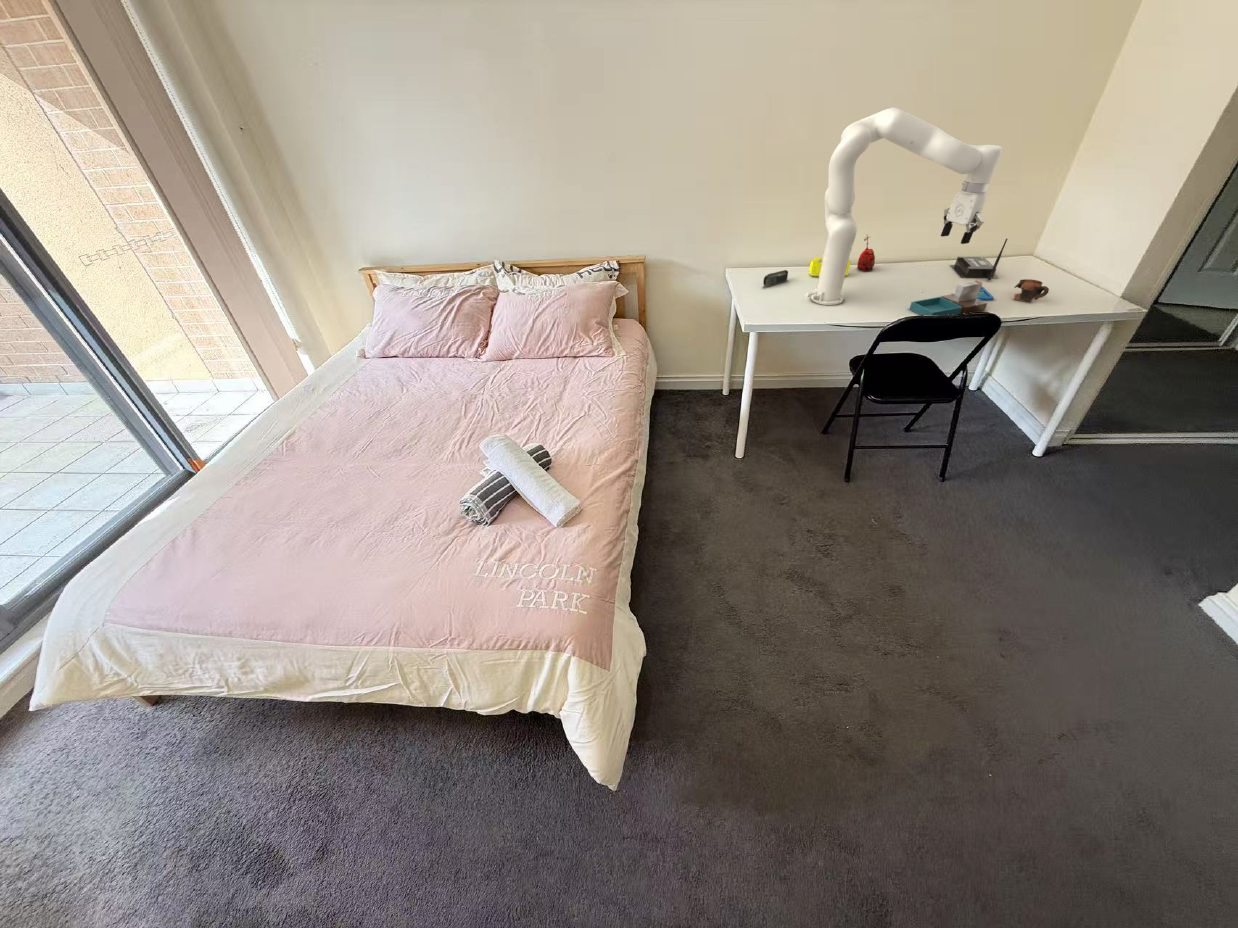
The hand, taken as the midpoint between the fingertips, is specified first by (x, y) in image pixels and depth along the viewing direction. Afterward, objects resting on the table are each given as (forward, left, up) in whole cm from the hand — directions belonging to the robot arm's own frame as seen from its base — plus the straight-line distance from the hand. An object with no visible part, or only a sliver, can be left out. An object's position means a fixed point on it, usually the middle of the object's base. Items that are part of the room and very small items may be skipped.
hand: (954, 239), depth 181 cm
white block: (+6, -8, -20) cm, 23 cm away
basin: (-6, -8, -24) cm, 26 cm away
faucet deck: (+6, -8, -24) cm, 26 cm away
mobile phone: (-47, +42, -24) cm, 67 cm away
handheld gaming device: (+21, +1, -24) cm, 32 cm away
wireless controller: (+38, +19, -24) cm, 49 cm away
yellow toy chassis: (-20, +42, -24) cm, 52 cm away
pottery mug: (+34, -11, -24) cm, 43 cm away
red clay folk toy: (-1, +42, -24) cm, 48 cm away
